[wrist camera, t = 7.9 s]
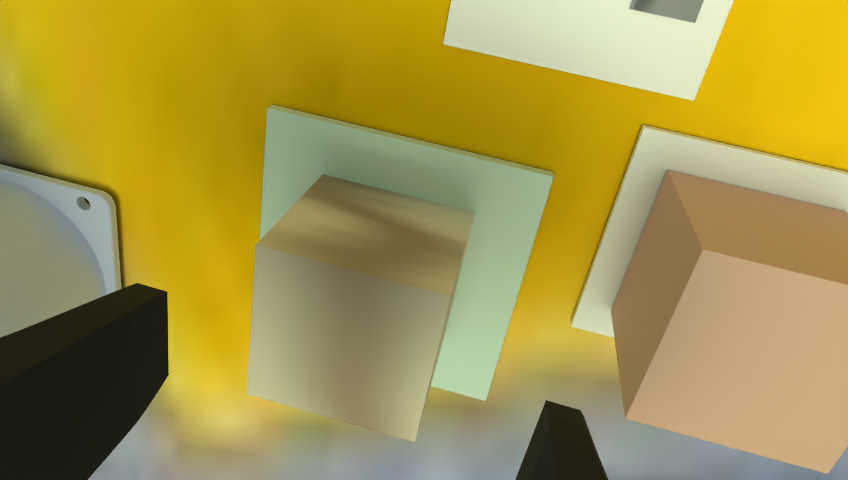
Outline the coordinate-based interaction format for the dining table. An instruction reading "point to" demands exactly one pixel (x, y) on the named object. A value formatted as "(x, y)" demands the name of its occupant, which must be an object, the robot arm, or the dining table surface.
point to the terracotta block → (738, 321)
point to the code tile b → (697, 159)
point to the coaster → (434, 181)
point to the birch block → (355, 303)
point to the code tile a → (598, 37)
